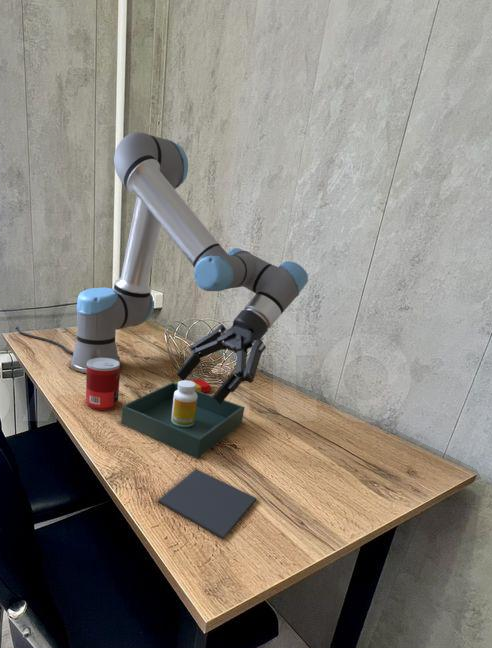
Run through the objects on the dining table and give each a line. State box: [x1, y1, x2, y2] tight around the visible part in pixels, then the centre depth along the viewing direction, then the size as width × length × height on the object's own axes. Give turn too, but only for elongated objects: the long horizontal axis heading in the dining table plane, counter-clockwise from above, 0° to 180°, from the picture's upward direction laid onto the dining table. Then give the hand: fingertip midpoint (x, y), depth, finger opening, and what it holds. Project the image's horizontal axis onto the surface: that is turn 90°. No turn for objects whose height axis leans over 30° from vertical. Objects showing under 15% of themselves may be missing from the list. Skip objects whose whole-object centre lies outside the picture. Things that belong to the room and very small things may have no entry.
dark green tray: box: [120, 381, 245, 459], centre depth 92 cm, size 20×20×4 cm
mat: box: [158, 468, 257, 540], centre depth 67 cm, size 12×12×1 cm
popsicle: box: [174, 378, 212, 393], centre depth 110 cm, size 6×15×2 cm, turn 114°
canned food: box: [85, 358, 121, 411], centre depth 98 cm, size 8×8×11 cm
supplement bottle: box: [171, 379, 198, 427], centre depth 91 cm, size 5×5×10 cm
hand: (196, 388), depth 91 cm, fingers open, 13 cm apart
